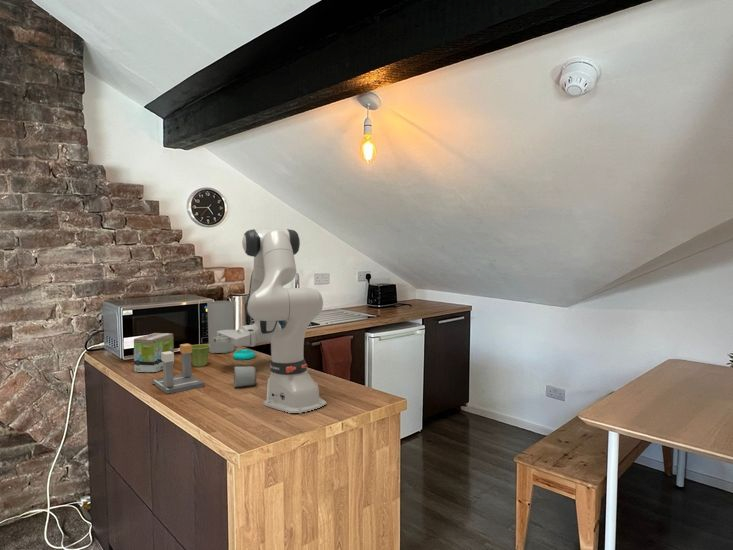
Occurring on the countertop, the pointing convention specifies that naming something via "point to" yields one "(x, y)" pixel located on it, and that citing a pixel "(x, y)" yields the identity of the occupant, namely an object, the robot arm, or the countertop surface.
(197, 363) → the plant pot
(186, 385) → the plate
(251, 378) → the ceramic mug
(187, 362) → the orange fader
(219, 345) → the cylinder vase
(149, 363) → the tea box
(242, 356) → the donuts
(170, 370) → the white fader
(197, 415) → the countertop surface
